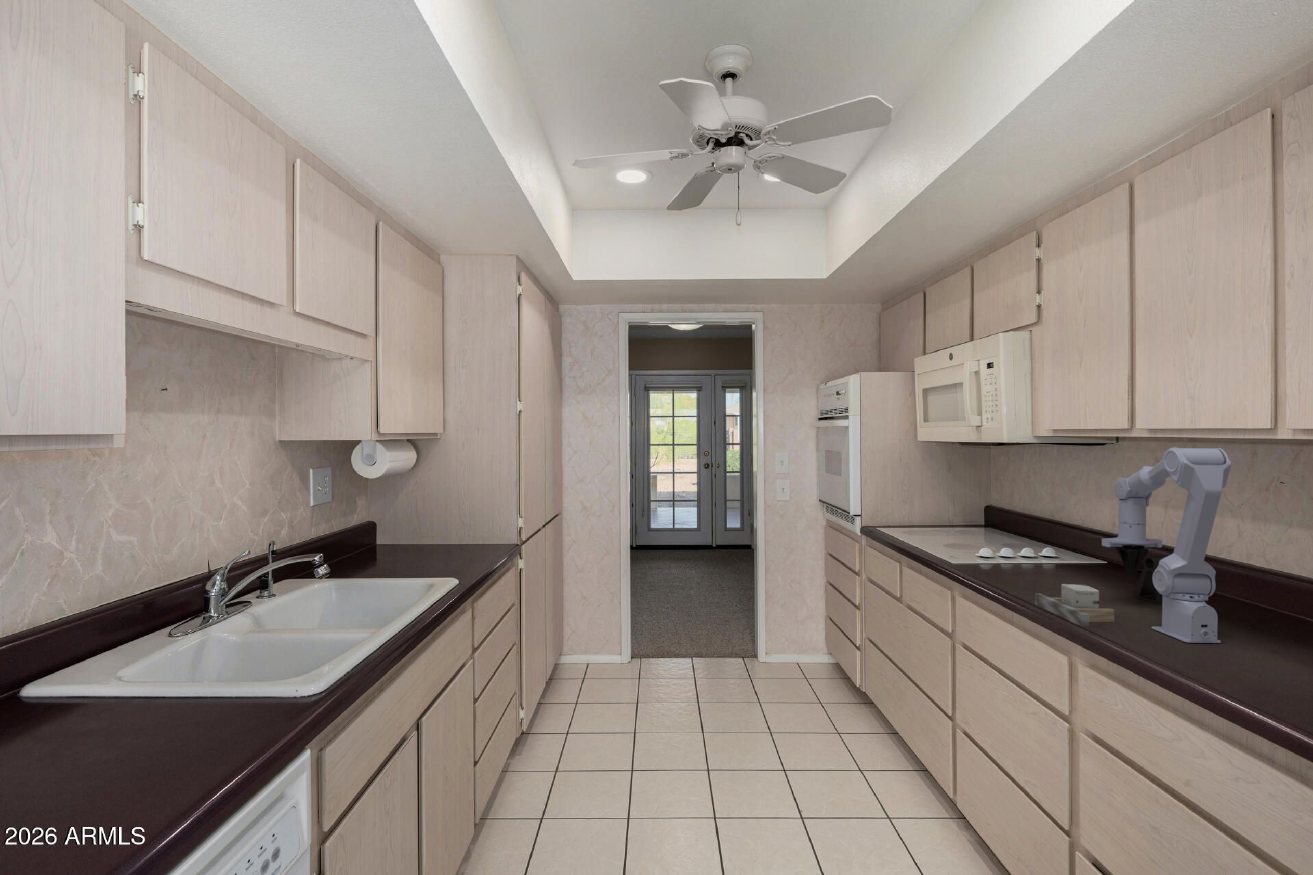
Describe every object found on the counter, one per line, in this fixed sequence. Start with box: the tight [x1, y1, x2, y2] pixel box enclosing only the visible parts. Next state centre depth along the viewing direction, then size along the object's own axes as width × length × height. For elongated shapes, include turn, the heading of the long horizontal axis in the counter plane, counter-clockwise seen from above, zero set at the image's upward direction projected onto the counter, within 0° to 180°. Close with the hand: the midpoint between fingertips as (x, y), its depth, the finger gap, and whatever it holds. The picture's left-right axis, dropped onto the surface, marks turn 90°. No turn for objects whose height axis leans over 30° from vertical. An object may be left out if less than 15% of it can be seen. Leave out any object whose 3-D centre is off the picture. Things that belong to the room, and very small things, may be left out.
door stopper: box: [1132, 556, 1166, 605], centre depth 163 cm, size 9×6×12 cm, turn 9°
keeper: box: [1034, 592, 1115, 628], centre depth 150 cm, size 18×11×3 cm, turn 179°
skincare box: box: [1060, 583, 1100, 608], centre depth 150 cm, size 6×6×7 cm
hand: (1131, 573), depth 155 cm, fingers closed
